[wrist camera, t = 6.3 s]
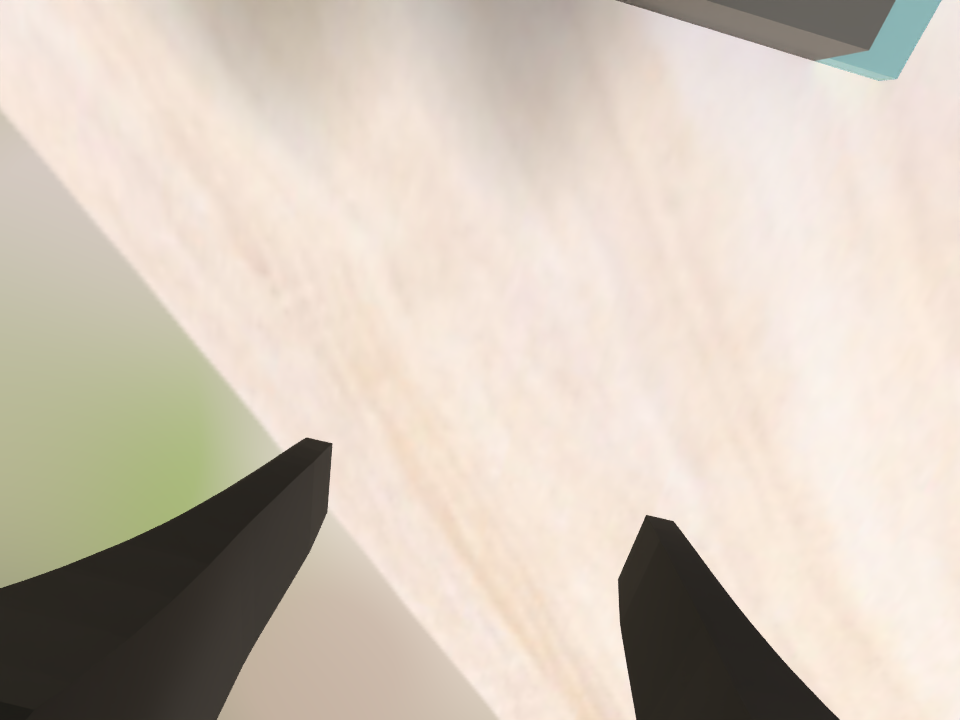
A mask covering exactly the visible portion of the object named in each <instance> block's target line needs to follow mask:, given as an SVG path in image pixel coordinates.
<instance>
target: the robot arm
mask: <svg viewBox="0 0 960 720" xmlns="http://www.w3.org/2000/svg"><path fill="white" fill-rule="evenodd" d="M331 456H332V443H328V442H324V441H319V440H315V439H311V438H305V439H303V440H301V441H300V442H298V443H297V444H295V445H294V446H292V447H291V448H289V449H288V450H286V451H285V452H283V453H282V454H280V455H279V456H277V457H276V458H274V459H273V460H271V461H270V462H268V463H266V464H265V465H263V466H262V467H260V468H259V469H257V470H256V471H254V472H253V473H251V474H249V475H248V476H246V477H245V478H243V479H241V480H240V481H238V482H237V483H235V484H233V485H232V486H230V487H229V488H227V489H226V490H224V491H222V492H220V493H219V494H217V495H215V496H213V497H211V498H210V499H208V500H206V501H205V502H203V503H201V504H199V505H197V506H196V507H194V508H192V509H190V510H189V511H187V512H185V513H183V514H181V515H179V516H177V517H176V518H174V519H172V520H170V521H168V522H166V523H164V524H162V525H160V526H157V527H155V528H153V529H151V530H149V531H147V532H145V533H143V534H140V535H138V536H136V537H134V538H132V539H130V540H127V541H125V542H123V543H120V544H118V545H115V546H113V547H111V548H108V549H106V550H103V551H101V552H98V553H96V554H93V555H91V556H89V557H86V558H83V559H81V560H79V561H76V562H74V563H71V564H69V565H66V566H63V567H61V568H58V569H55V570H53V571H50V572H47V573H45V574H41V575H39V576H36V577H33V578H30V579H27V580H24V581H21V582H18V583H15V584H12V585H9V586H6V587H3V588H0V720H217V718H218V715H219V714H220V712H221V709H222V707H223V706H224V703H225V701H226V699H227V697H228V695H229V693H230V691H231V689H232V686H233V685H234V683H235V680H236V679H237V676H238V674H239V672H240V670H241V668H242V666H243V664H244V663H245V661H246V659H247V657H248V655H249V653H250V652H251V650H252V648H253V646H254V644H255V643H256V641H257V639H258V638H259V636H260V634H261V633H262V631H263V629H264V627H265V626H266V624H267V623H268V621H269V619H270V618H271V616H272V614H273V612H274V611H275V609H276V608H277V606H278V604H279V602H280V601H281V599H282V598H283V596H284V594H285V593H286V591H287V589H288V588H289V586H290V584H291V583H292V581H293V579H294V578H295V576H296V574H297V572H298V571H299V569H300V567H301V566H302V564H303V562H304V561H305V559H306V557H307V555H308V554H309V552H310V550H311V547H312V545H313V543H314V541H315V538H316V537H317V534H318V532H319V530H320V528H321V525H322V523H323V520H324V518H325V516H326V514H327V509H328V495H329V482H330V469H331ZM618 589H619V612H620V626H621V633H622V639H623V645H624V651H625V657H626V663H627V668H628V674H629V680H630V686H631V691H632V697H633V703H634V708H635V714H636V720H840V719H839V718H838V717H837V716H835V715H834V714H833V713H832V712H831V711H830V710H829V709H828V708H827V707H826V706H825V705H824V704H823V702H822V701H821V700H820V699H819V698H818V697H817V696H816V695H815V694H814V693H813V692H812V691H811V690H810V689H809V688H808V687H807V686H806V685H805V684H804V682H803V681H802V680H801V679H800V678H799V677H798V676H797V675H796V674H795V673H794V672H793V671H792V670H791V669H790V668H789V666H788V665H787V664H786V663H785V662H784V661H783V660H782V659H781V658H780V656H779V655H778V654H777V653H776V652H775V651H774V650H773V648H772V647H771V646H770V645H769V644H768V642H767V641H766V640H765V639H764V638H763V637H762V635H761V634H760V633H759V632H758V631H757V629H756V628H755V627H754V626H753V625H752V623H751V622H750V621H749V620H748V619H747V617H746V616H745V615H744V614H743V612H742V611H741V610H740V609H739V607H738V606H737V605H736V604H735V602H734V601H733V600H732V598H731V597H730V596H729V595H728V593H727V592H726V591H725V589H724V588H723V587H722V585H721V584H720V583H719V581H718V580H717V579H716V577H715V576H714V575H713V573H712V572H711V571H710V569H709V568H708V567H707V565H706V564H705V563H704V561H703V560H702V559H701V557H700V556H699V555H698V553H697V552H696V550H695V549H694V548H693V546H692V545H691V544H690V542H689V541H688V540H687V538H686V537H685V536H684V534H683V533H682V532H681V530H680V529H679V528H678V526H677V525H676V524H675V523H674V521H670V520H666V519H662V518H657V517H653V516H648V515H646V517H645V519H644V521H643V524H642V526H641V528H640V531H639V533H638V535H637V537H636V540H635V542H634V544H633V547H632V549H631V551H630V553H629V556H628V558H627V560H626V563H625V565H624V567H623V569H622V572H621V574H620V576H619V578H618Z"/></svg>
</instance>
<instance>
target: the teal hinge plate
mask: <svg viewBox="0 0 960 720" xmlns="http://www.w3.org/2000/svg"><path fill="white" fill-rule="evenodd" d="M617 1H620V2H624V3H627V4H630V5H634V6H637V7H640V8H643V9H647V10H650V11H653V12H656V13H660V14H663V15H666V16H669V17H673V18H676V19H679V20H682V21H686V22H689V23H692V24H695V25H699V26H702V27H705V28H708V29H712V30H715V31H718V32H721V33H725V34H728V35H731V36H734V37H738V38H741V39H744V40H747V41H751V42H754V43H757V44H760V45H764V46H767V47H770V48H774V49H777V50H780V51H783V52H787V53H790V54H793V55H796V56H800V57H803V58H806V59H809V60H813V61H816V62H819V63H822V64H826V65H829V66H832V67H835V68H839V69H842V70H845V71H848V72H852V73H855V74H858V75H861V76H865V77H868V78H871V79H874V80H878V81H882V80H892V79H897V78H898V76H899V74H900V73H901V71H902V69H903V67H904V66H905V64H906V62H907V60H908V59H909V57H910V55H911V53H912V52H913V50H914V48H915V46H916V44H917V43H918V41H919V39H920V37H921V36H922V34H923V32H924V30H925V29H926V27H927V25H928V23H929V21H930V20H931V18H932V16H933V14H934V13H935V11H936V9H937V7H938V6H939V4H940V2H941V0H617Z"/></svg>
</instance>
